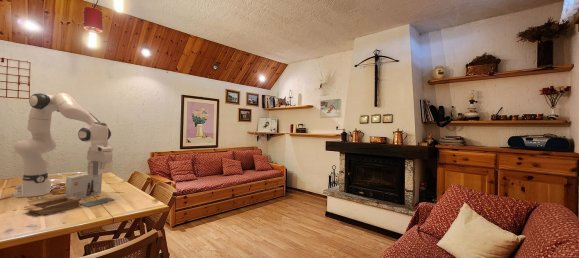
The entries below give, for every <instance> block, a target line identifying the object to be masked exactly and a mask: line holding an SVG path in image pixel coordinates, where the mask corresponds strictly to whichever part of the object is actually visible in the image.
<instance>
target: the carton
mask: <svg viewBox="0 0 579 258" xmlns="http://www.w3.org/2000/svg"><path fill="white" fill-rule="evenodd" d="M65 195H66V193H63V194H62V193H61V194H58V195H53V196H48V197H42V198H37V199H33V200H29V201H28V204H29V205H26V206H23V208H24V209H28V210H30V212H32V213H35V214H38V215H41V216H46V215H50V214H54V213H58V212H61V211H65V210H70V209H73V208H77V207H79V206H80V201H84V200H85V199H84V198H77V197H73V196H72V197H66V196H65Z"/></svg>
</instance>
